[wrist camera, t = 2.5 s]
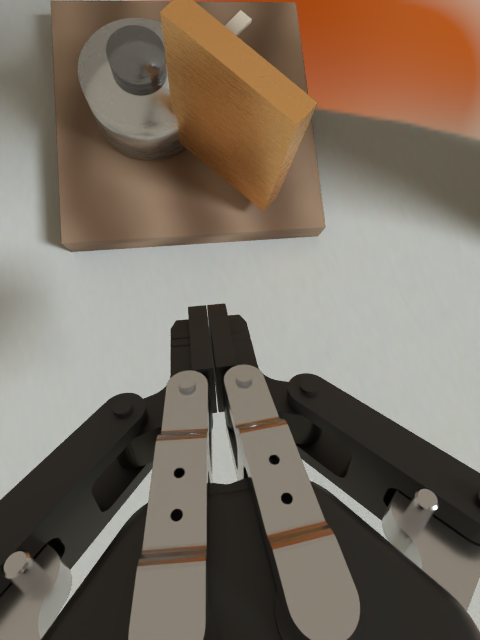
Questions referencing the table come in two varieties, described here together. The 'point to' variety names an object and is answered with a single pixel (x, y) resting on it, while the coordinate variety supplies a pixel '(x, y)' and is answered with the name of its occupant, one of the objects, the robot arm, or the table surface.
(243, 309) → the table surface
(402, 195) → the table surface
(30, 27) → the table surface
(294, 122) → the lock handle
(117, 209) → the base
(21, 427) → the table surface
